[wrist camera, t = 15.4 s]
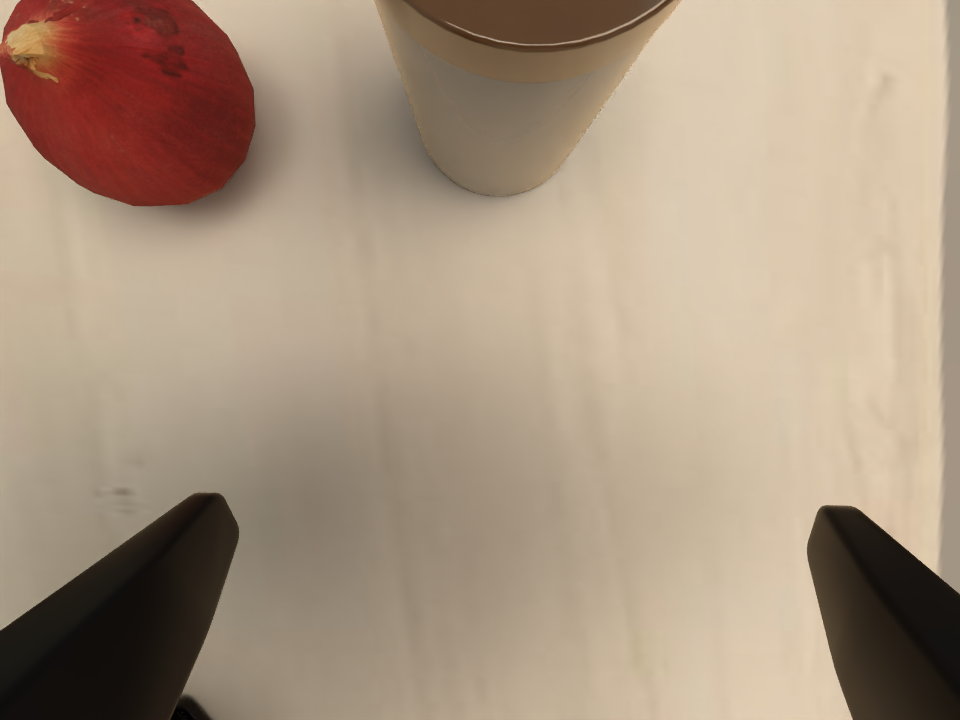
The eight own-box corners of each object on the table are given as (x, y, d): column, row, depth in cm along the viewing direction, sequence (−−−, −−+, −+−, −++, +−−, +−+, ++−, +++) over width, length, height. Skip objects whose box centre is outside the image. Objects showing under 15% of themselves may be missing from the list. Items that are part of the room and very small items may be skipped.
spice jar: (562, 212, 20) (703, 89, 8) (403, 181, 20) (287, 2, 8) (596, 45, 20) (809, -382, 7) (432, 11, 19) (357, -489, 7)
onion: (141, 19, 19) (-92, -171, 11) (308, 76, 20) (195, -71, 12) (100, 190, 20) (-148, 123, 12) (262, 243, 20) (125, 212, 12)
